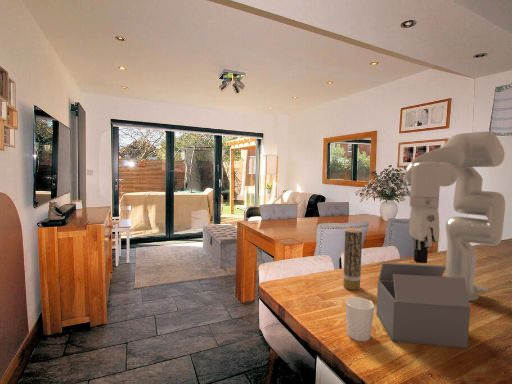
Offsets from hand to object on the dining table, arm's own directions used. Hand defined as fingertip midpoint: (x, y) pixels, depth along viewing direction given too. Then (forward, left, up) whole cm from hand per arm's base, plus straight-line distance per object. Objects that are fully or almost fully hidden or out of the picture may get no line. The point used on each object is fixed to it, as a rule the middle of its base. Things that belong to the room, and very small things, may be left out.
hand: (420, 262), depth 86 cm
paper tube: (+14, -30, -22) cm, 40 cm away
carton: (0, 0, -22) cm, 22 cm away
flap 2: (0, +6, -6) cm, 9 cm away
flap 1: (0, -7, -6) cm, 9 cm away
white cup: (+19, +6, -22) cm, 29 cm away
